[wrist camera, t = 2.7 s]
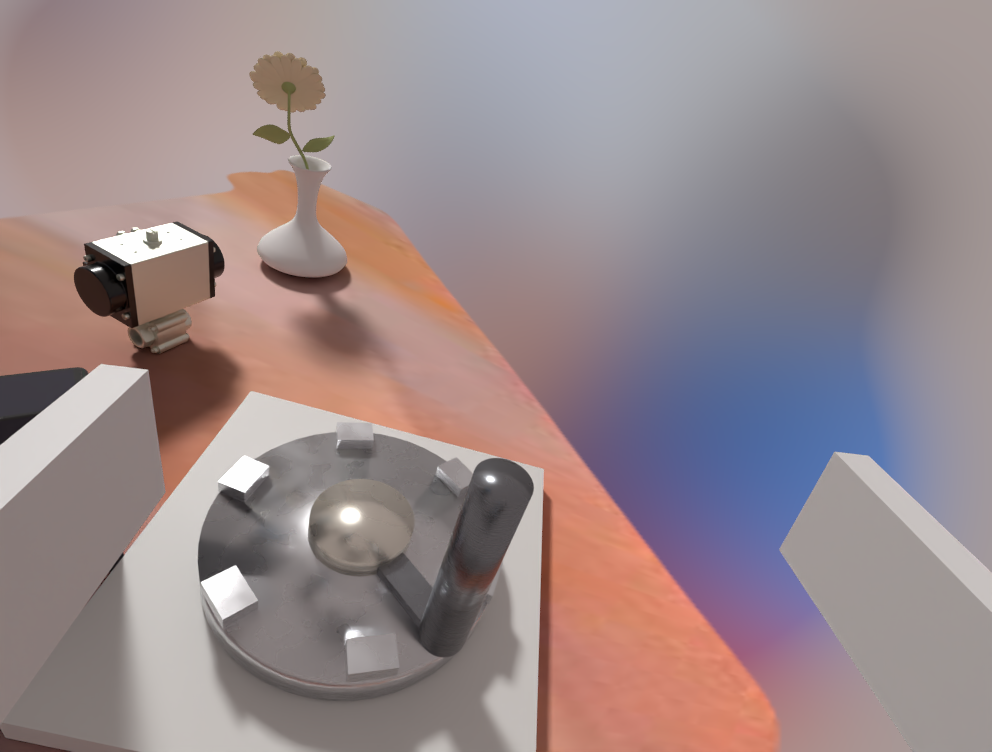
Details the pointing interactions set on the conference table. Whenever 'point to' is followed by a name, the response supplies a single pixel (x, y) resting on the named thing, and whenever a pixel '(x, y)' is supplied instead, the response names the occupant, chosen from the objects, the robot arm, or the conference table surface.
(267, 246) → the flower in vase
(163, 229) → the pneumatic valve
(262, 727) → the base plate
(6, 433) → the black upright block
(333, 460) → the round disc with peg
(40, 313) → the conference table surface
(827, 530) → the robot arm
